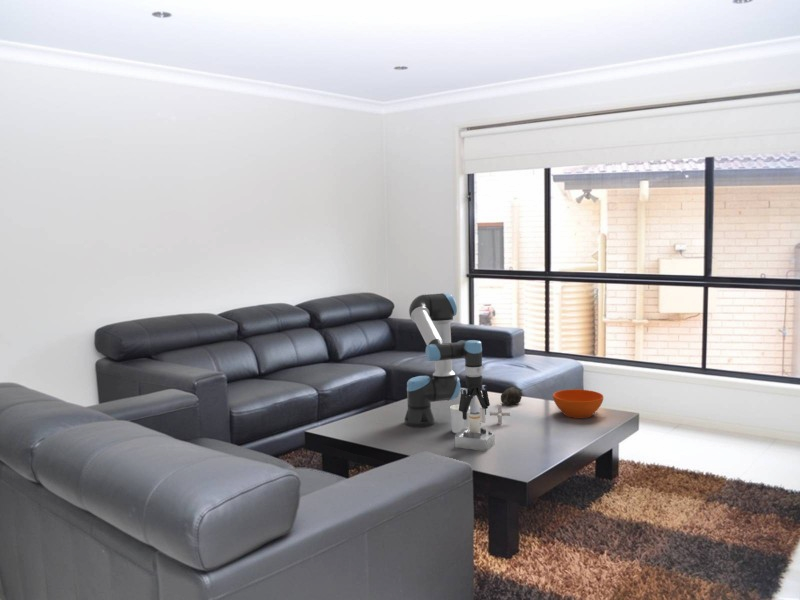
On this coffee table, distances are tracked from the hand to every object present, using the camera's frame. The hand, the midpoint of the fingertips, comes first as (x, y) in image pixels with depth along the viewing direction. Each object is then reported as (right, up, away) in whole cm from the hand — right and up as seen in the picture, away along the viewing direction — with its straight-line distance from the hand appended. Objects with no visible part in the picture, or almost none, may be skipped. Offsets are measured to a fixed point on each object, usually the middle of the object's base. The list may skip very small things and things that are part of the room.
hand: (474, 424), depth 326 cm
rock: (+27, -1, +70) cm, 75 cm away
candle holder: (-4, -8, +23) cm, 25 cm away
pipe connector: (+16, -6, +33) cm, 37 cm away
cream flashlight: (0, -5, +1) cm, 5 cm away
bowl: (+58, -3, +46) cm, 74 cm away
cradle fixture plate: (0, -10, +1) cm, 10 cm away
